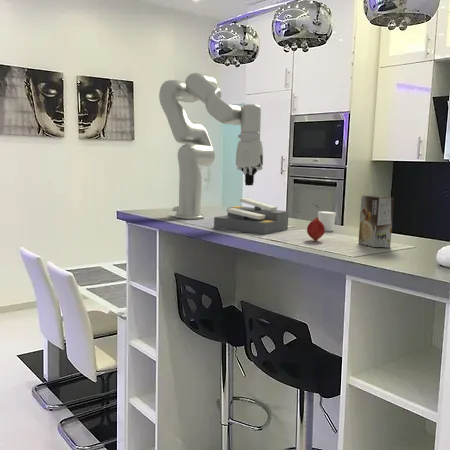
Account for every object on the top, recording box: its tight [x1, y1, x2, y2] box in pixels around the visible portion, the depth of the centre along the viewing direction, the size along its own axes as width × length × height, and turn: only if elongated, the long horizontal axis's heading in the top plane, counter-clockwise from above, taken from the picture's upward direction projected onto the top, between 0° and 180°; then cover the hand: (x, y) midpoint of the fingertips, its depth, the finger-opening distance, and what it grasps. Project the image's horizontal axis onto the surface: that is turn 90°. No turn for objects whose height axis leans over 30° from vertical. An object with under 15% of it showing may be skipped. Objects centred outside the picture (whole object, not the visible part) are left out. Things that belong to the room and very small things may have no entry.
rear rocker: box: [239, 197, 278, 211], centre depth 195 cm, size 14×5×1 cm, turn 56°
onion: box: [306, 216, 326, 242], centre depth 169 cm, size 6×6×8 cm
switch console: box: [213, 205, 290, 235], centre depth 192 cm, size 22×18×8 cm
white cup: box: [317, 210, 337, 232], centre depth 197 cm, size 7×7×7 cm
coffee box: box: [358, 194, 395, 248], centre depth 164 cm, size 9×6×16 cm
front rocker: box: [225, 207, 265, 219], centre depth 188 cm, size 14×5×1 cm, turn 56°
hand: (249, 185), depth 197 cm, fingers closed
